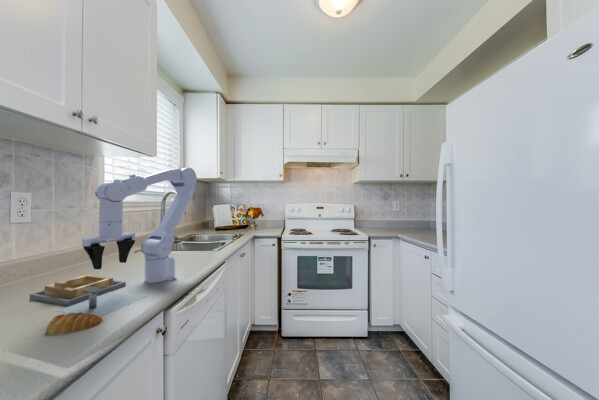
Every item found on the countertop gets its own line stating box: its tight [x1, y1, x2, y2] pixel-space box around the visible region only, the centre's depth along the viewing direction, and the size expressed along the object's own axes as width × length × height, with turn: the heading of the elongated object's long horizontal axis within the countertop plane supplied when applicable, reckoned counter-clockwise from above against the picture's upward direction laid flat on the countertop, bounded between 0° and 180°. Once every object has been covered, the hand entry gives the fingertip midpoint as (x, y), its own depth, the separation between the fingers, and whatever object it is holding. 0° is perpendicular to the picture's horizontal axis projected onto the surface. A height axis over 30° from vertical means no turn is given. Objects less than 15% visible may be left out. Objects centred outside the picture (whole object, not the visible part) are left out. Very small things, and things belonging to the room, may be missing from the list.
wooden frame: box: [44, 274, 114, 300], centre depth 75 cm, size 11×11×5 cm
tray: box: [28, 279, 127, 307], centre depth 75 cm, size 16×16×2 cm
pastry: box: [44, 312, 103, 336], centre depth 55 cm, size 9×7×4 cm
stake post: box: [85, 286, 101, 309], centre depth 64 cm, size 2×4×5 cm, turn 74°
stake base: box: [56, 290, 147, 318], centre depth 67 cm, size 14×14×1 cm
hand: (110, 265), depth 74 cm, fingers open, 7 cm apart
